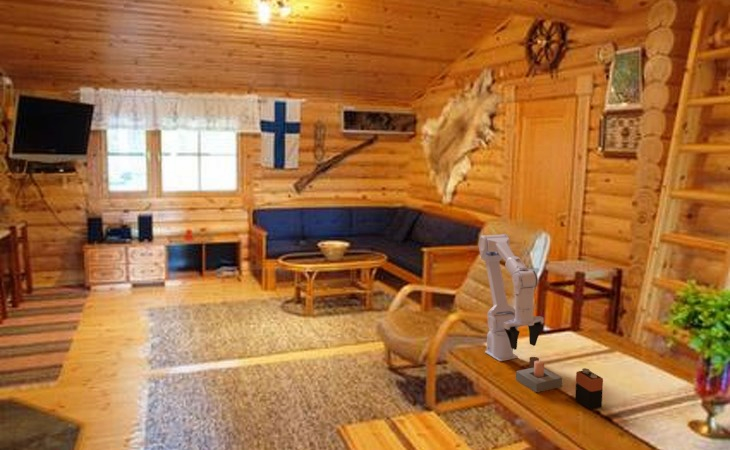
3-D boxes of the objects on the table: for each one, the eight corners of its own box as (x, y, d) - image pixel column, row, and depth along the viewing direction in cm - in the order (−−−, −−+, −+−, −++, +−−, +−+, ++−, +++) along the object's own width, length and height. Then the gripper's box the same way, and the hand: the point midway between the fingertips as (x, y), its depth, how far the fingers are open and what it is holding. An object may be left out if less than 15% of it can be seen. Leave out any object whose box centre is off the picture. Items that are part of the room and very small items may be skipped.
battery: (586, 397, 167) (588, 366, 165) (602, 408, 160) (604, 375, 159) (574, 400, 166) (575, 368, 164) (589, 410, 159) (591, 377, 158)
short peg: (527, 368, 188) (527, 357, 188) (534, 367, 189) (534, 356, 189) (533, 372, 185) (533, 360, 185) (540, 370, 187) (540, 359, 186)
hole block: (515, 379, 180) (516, 371, 179) (540, 374, 184) (540, 365, 183) (536, 392, 171) (536, 383, 170) (562, 386, 174) (562, 377, 174)
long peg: (531, 382, 178) (532, 361, 177) (539, 380, 179) (539, 359, 178) (537, 386, 175) (538, 365, 174) (545, 384, 176) (546, 363, 175)
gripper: (513, 313, 174) (512, 354, 177) (550, 307, 180) (549, 347, 182) (500, 307, 181) (499, 347, 183) (536, 301, 186) (534, 340, 188)
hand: (523, 346), depth 183 cm, fingers open, 7 cm apart
